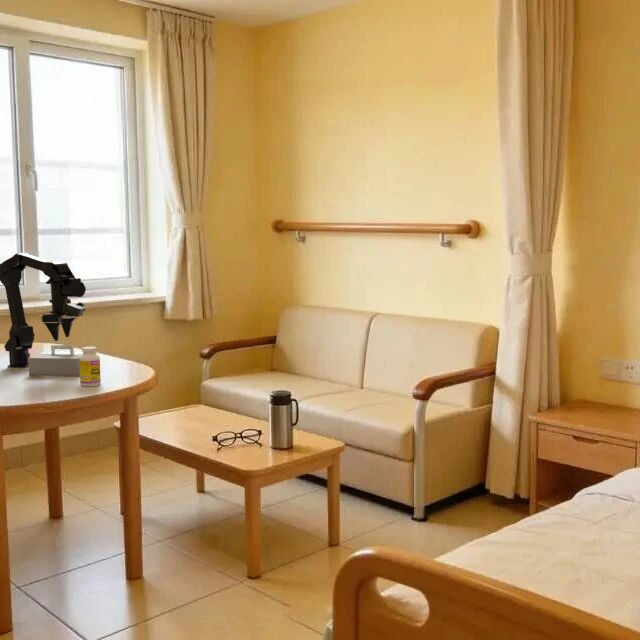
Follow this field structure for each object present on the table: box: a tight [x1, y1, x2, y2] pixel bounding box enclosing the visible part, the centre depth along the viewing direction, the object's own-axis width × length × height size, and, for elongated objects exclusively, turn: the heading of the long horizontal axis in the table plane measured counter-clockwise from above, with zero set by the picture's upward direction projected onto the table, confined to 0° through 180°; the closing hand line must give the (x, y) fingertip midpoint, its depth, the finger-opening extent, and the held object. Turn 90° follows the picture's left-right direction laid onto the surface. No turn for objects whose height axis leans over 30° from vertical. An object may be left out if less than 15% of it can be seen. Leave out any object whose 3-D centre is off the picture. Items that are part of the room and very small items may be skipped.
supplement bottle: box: [79, 346, 101, 388], centre depth 263 cm, size 7×7×13 cm
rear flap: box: [37, 344, 83, 355], centre depth 288 cm, size 18×7×4 cm, turn 85°
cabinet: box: [28, 354, 81, 377], centre depth 285 cm, size 18×14×6 cm
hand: (62, 338), depth 285 cm, fingers open, 9 cm apart
